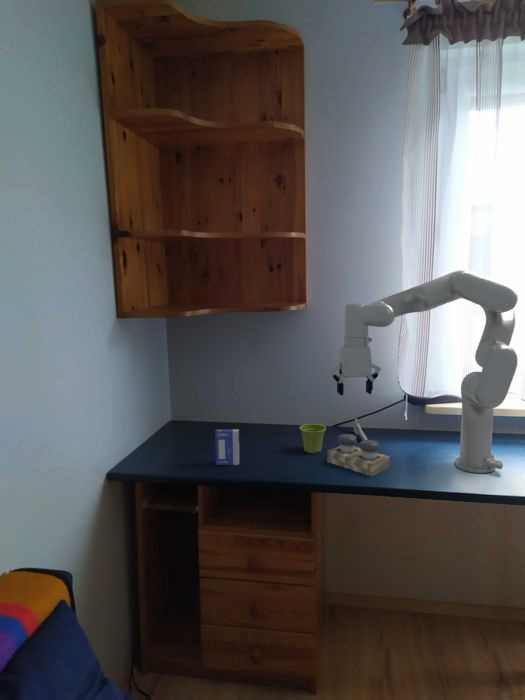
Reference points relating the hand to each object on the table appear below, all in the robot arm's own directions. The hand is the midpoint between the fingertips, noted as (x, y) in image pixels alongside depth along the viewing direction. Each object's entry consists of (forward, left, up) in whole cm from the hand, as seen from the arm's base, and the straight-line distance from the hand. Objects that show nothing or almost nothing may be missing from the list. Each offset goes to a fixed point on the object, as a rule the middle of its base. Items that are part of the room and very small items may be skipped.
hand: (354, 393), depth 174 cm
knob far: (+4, -2, -22) cm, 23 cm away
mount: (-1, -2, -25) cm, 25 cm away
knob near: (-5, -2, -22) cm, 23 cm away
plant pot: (+19, -2, -25) cm, 32 cm away
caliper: (+13, -24, -25) cm, 37 cm away
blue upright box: (+31, +28, -25) cm, 49 cm away
